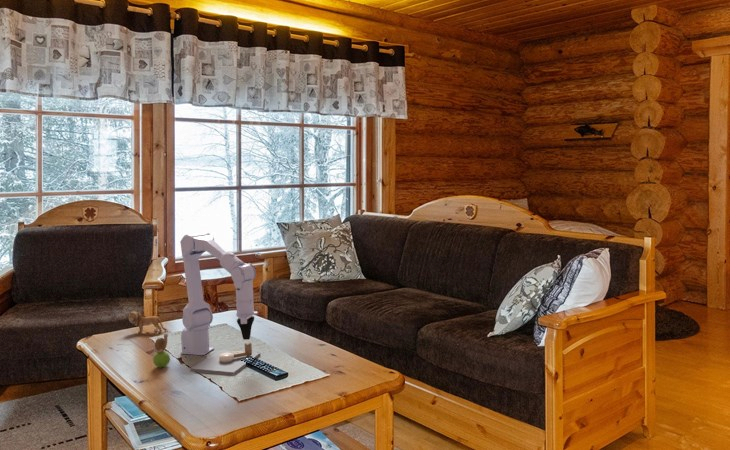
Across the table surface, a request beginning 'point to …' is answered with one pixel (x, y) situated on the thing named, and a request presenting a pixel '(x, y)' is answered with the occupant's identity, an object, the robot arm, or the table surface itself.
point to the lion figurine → (144, 321)
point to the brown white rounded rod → (236, 354)
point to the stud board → (222, 364)
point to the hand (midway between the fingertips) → (246, 338)
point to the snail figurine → (161, 352)
